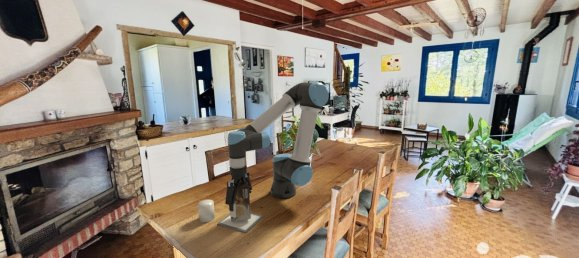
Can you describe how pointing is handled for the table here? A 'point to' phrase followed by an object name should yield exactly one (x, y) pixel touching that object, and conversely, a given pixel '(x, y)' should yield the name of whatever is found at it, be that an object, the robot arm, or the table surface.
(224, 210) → the table surface
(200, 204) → the cream capsule pill
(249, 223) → the mat
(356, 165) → the table surface
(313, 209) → the table surface
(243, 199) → the coffee box
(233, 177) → the robot arm
